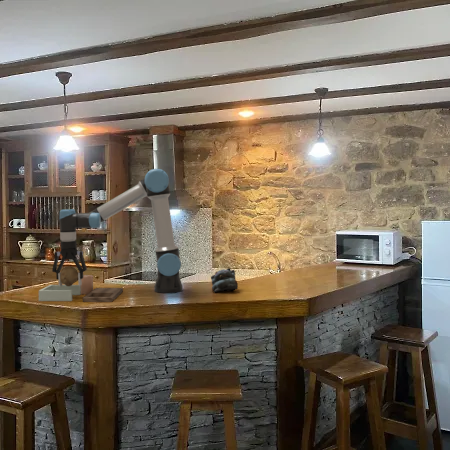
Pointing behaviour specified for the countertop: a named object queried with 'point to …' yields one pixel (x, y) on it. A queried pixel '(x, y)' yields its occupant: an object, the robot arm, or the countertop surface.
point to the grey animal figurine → (224, 280)
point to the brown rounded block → (87, 284)
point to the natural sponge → (68, 276)
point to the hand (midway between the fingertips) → (70, 285)
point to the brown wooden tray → (103, 295)
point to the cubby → (59, 292)
